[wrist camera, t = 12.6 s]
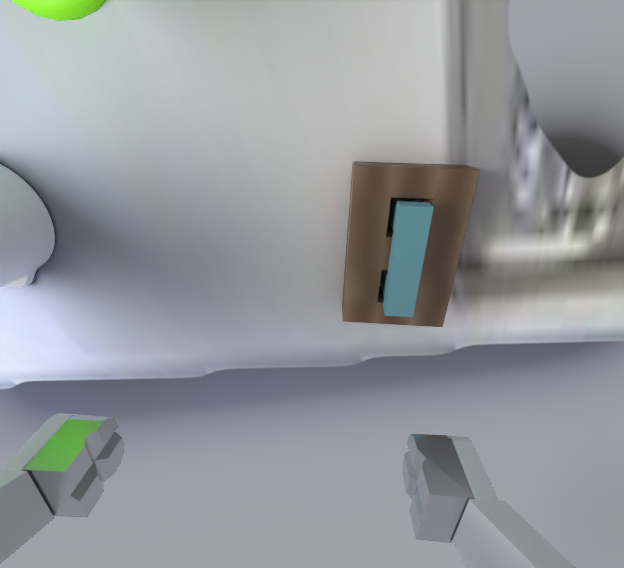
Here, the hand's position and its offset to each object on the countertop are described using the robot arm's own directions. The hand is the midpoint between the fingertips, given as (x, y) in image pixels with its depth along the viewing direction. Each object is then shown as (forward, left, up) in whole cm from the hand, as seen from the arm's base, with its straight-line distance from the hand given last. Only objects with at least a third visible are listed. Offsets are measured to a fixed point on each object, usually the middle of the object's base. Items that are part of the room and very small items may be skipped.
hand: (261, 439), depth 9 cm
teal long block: (+10, -5, -32) cm, 33 cm away
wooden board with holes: (+10, -5, -32) cm, 33 cm away
